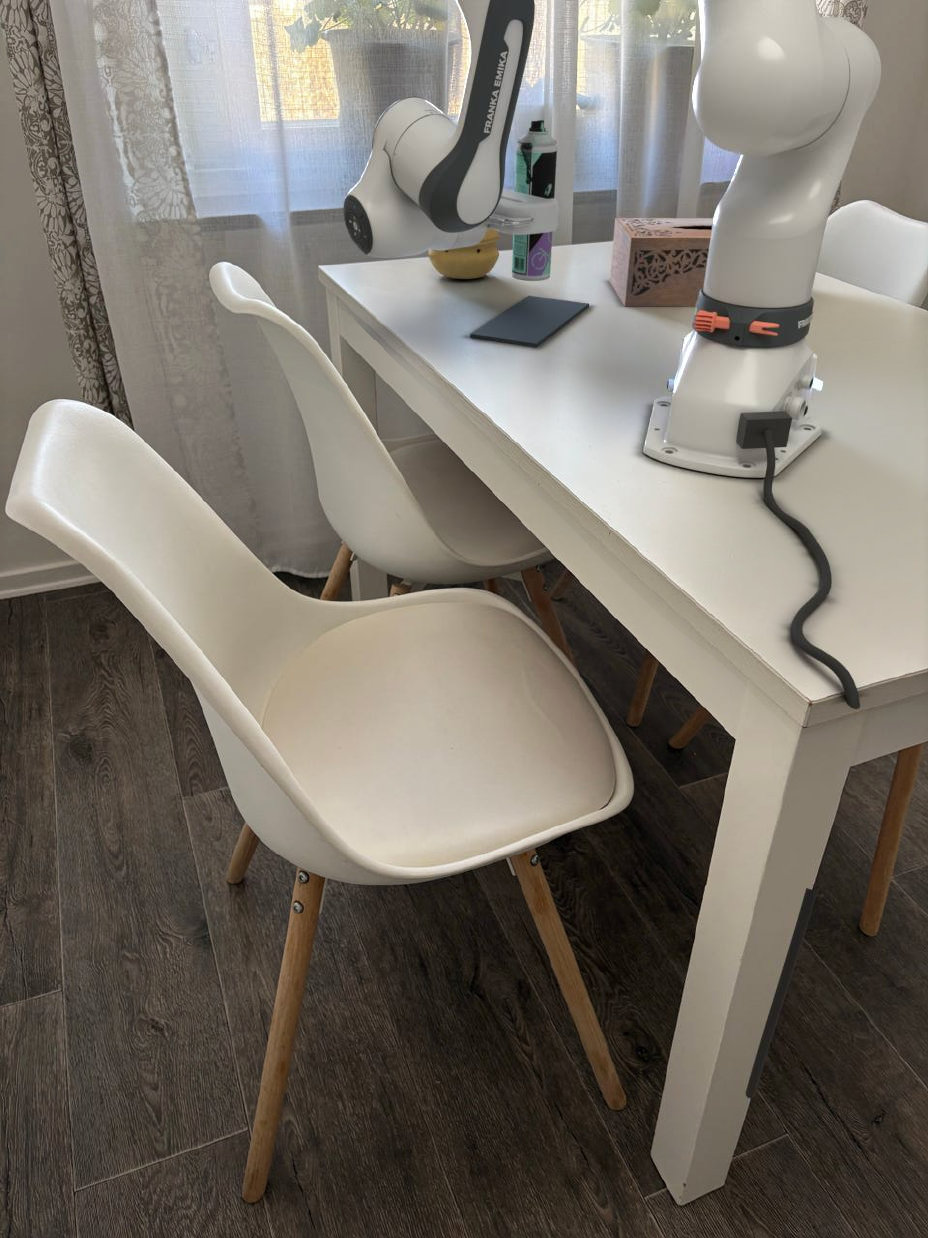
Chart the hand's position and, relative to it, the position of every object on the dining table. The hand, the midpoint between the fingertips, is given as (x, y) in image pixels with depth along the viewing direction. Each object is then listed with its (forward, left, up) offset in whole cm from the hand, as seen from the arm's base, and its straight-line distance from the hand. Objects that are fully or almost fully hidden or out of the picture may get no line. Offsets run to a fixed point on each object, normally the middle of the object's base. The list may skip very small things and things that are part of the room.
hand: (539, 200), depth 134 cm
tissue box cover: (+25, -18, -16) cm, 35 cm away
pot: (+18, +20, -16) cm, 31 cm away
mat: (-1, 0, -16) cm, 16 cm away
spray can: (-1, 0, -10) cm, 10 cm away
